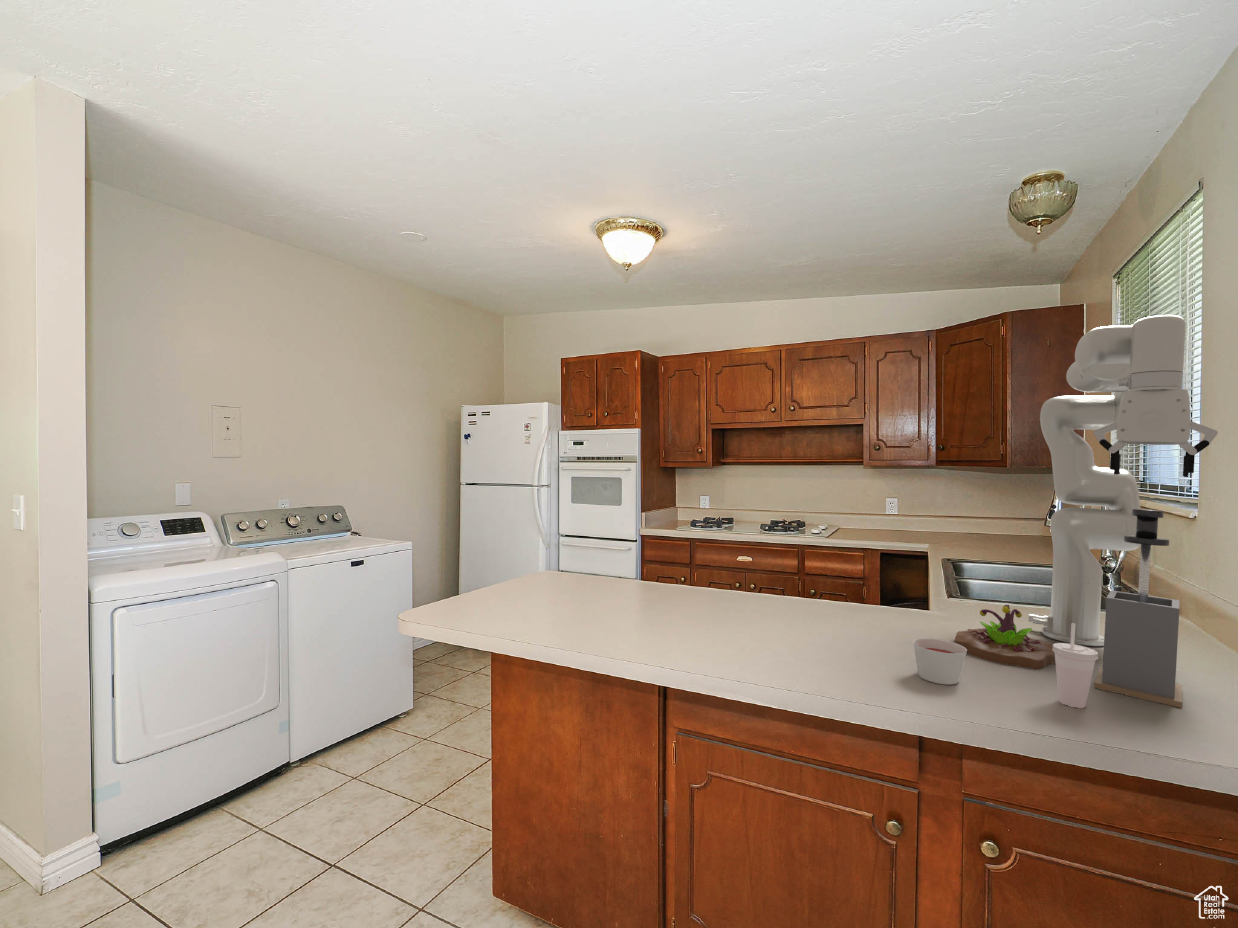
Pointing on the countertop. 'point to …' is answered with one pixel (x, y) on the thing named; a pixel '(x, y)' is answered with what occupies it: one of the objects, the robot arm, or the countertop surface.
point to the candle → (939, 660)
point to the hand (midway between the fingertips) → (1150, 475)
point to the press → (1141, 648)
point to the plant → (1006, 643)
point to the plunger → (1146, 544)
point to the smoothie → (1074, 671)
